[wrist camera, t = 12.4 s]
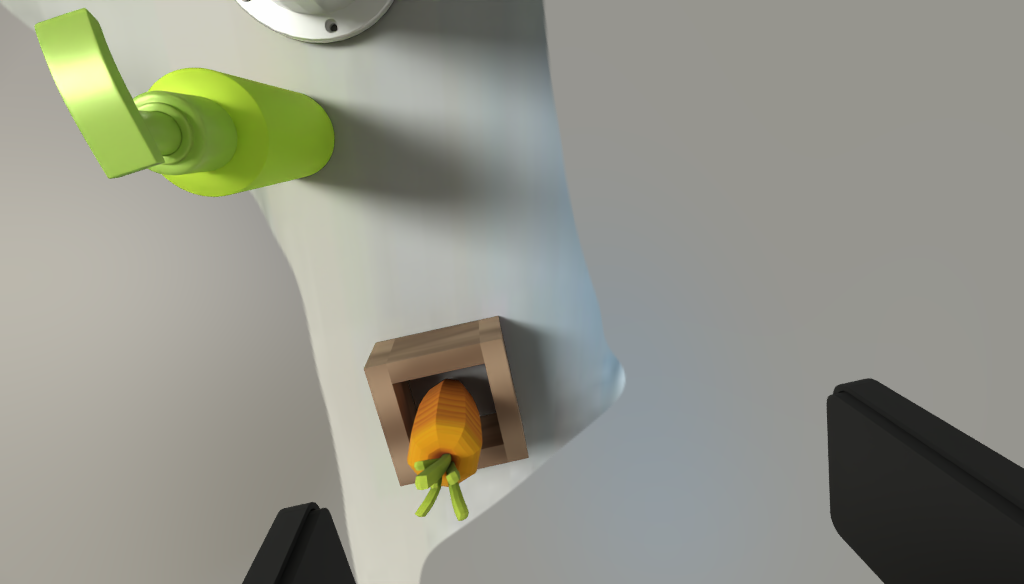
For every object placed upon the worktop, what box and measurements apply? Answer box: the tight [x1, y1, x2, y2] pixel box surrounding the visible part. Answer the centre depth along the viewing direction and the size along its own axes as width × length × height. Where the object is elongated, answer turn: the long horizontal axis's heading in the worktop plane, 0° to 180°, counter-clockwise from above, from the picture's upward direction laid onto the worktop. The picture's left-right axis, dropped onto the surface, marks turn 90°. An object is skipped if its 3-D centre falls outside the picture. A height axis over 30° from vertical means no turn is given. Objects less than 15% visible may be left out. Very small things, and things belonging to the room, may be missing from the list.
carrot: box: [407, 379, 482, 521], centre depth 37 cm, size 5×5×15 cm
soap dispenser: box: [35, 8, 335, 197], centre depth 28 cm, size 6×7×20 cm
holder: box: [364, 316, 529, 486], centre depth 42 cm, size 10×10×5 cm
